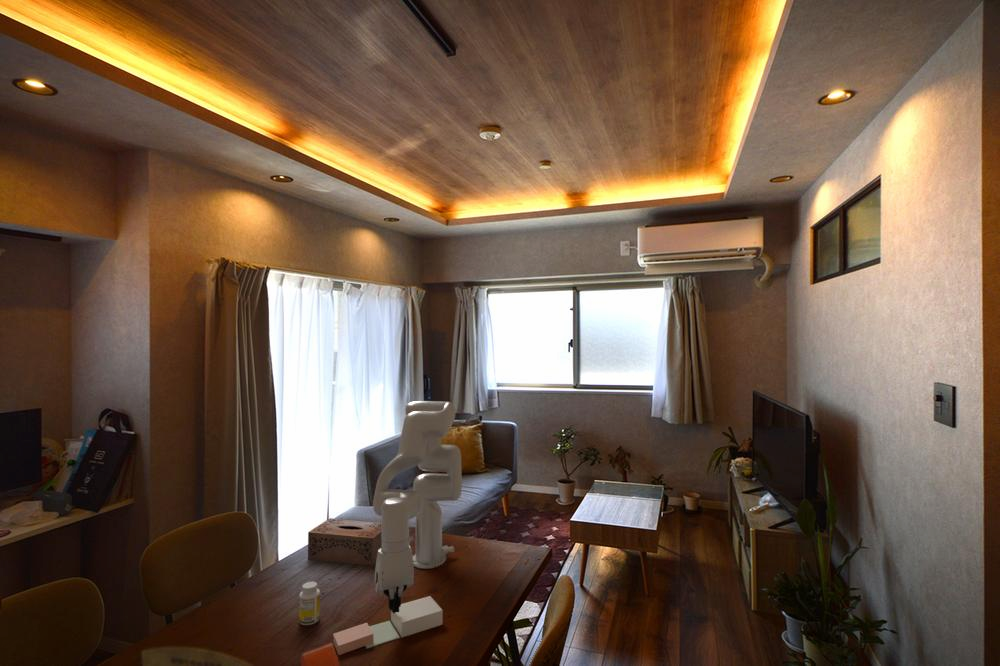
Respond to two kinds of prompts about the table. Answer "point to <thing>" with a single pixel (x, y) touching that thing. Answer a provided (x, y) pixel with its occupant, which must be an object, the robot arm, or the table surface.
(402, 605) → the white rectangular block
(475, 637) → the table surface
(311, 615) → the supplement bottle
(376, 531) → the tissue box cover
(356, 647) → the pink rectangular block
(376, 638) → the mat
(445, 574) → the table surface
